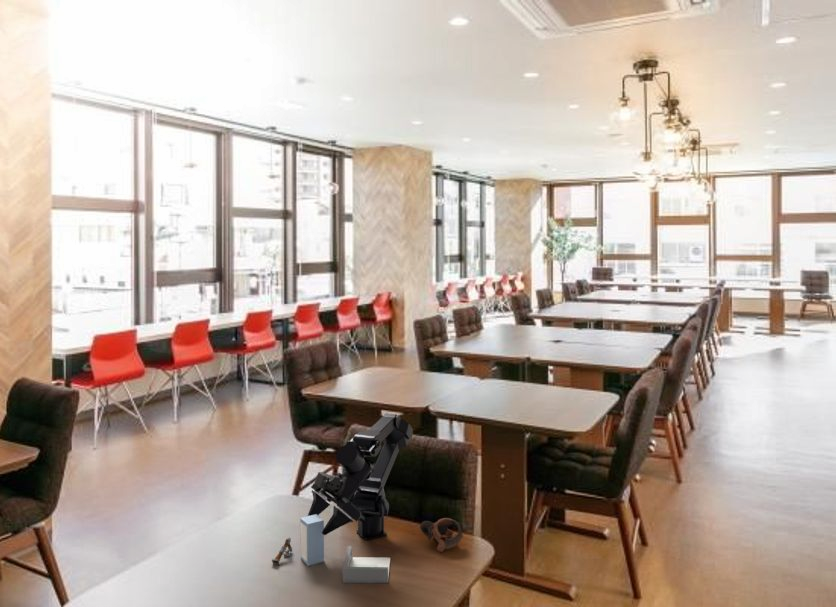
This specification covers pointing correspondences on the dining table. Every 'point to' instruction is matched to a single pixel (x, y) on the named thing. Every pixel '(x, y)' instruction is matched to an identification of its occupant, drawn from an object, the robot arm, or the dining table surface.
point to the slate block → (312, 539)
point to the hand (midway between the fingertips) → (315, 527)
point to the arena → (365, 569)
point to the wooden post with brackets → (278, 557)
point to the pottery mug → (442, 532)
